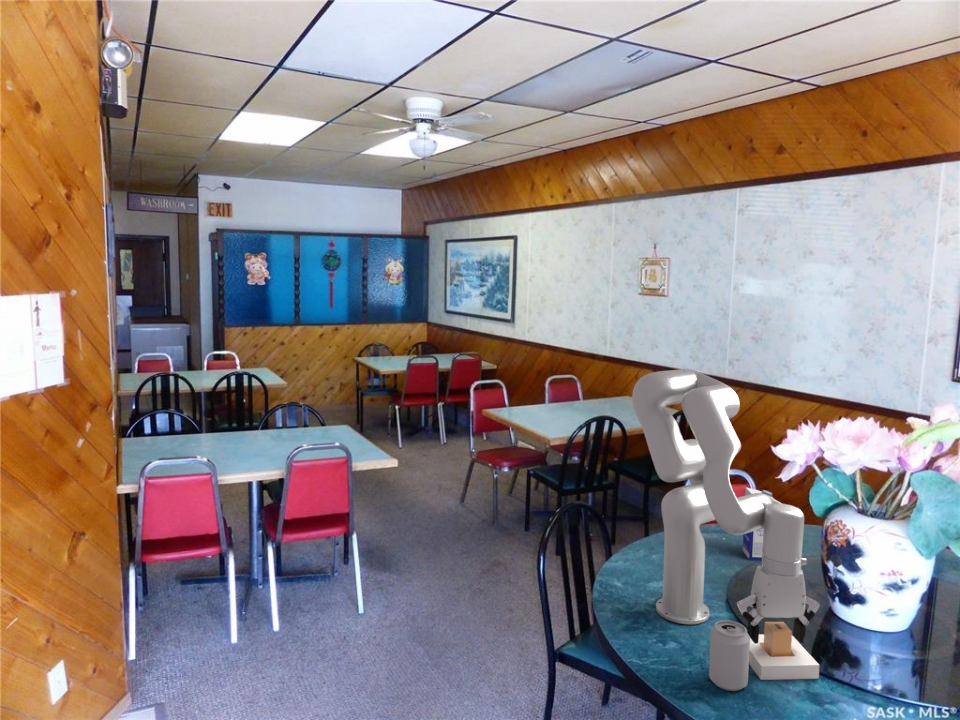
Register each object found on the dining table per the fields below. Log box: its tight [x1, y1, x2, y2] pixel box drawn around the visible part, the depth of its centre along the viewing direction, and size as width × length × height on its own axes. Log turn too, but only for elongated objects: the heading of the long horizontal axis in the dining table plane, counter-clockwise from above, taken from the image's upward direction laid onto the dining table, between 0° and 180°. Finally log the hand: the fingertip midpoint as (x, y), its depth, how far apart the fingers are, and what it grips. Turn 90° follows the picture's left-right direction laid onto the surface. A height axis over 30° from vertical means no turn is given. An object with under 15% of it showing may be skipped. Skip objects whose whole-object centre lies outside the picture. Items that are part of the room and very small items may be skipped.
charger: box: [763, 621, 793, 657], centre depth 142 cm, size 4×4×8 cm
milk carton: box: [742, 486, 775, 562], centre depth 196 cm, size 7×7×20 cm
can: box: [708, 619, 750, 692], centre depth 135 cm, size 8×8×12 cm
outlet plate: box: [749, 633, 820, 681], centre depth 143 cm, size 12×12×3 cm
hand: (775, 639), depth 143 cm, fingers open, 9 cm apart
